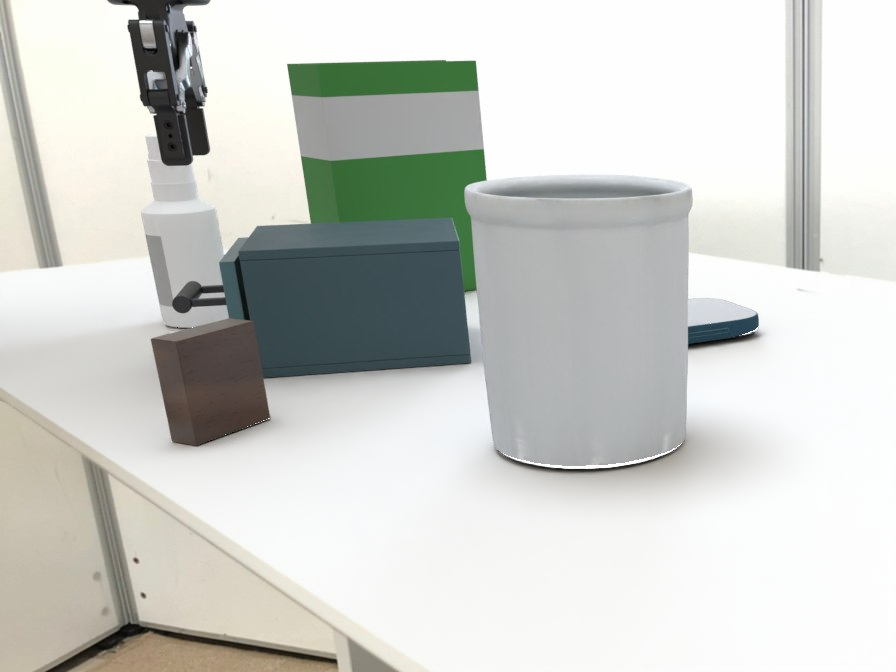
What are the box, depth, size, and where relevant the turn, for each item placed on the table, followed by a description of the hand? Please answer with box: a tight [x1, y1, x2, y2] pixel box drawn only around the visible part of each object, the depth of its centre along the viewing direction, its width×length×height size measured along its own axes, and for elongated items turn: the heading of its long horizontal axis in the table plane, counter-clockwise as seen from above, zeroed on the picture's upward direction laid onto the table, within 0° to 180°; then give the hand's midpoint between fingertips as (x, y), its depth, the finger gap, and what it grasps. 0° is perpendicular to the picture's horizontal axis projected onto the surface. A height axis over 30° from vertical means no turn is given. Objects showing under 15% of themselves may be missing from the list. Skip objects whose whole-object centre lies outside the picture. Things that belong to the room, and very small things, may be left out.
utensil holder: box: [464, 174, 694, 466], centre depth 82 cm, size 15×15×18 cm
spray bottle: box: [140, 133, 229, 329], centre depth 118 cm, size 7×7×18 cm
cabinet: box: [238, 217, 472, 379], centre depth 108 cm, size 18×15×11 cm
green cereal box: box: [286, 59, 488, 292], centre depth 130 cm, size 18×7×24 cm, turn 131°
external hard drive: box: [688, 297, 760, 345], centre depth 112 cm, size 24×12×2 cm, turn 120°
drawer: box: [172, 236, 250, 321], centre depth 107 cm, size 21×13×9 cm, turn 105°
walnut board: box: [150, 318, 271, 447], centre depth 86 cm, size 2×7×8 cm, turn 155°
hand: (187, 160), depth 97 cm, fingers open, 8 cm apart
